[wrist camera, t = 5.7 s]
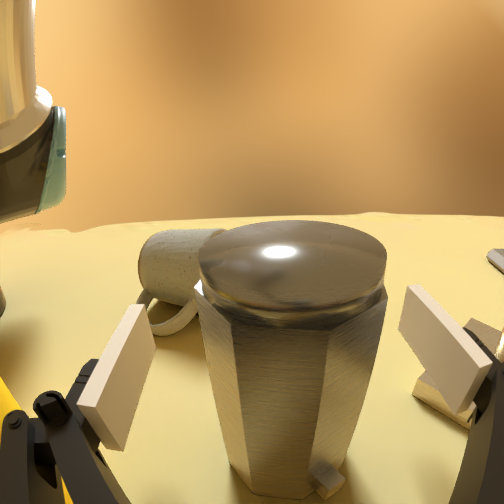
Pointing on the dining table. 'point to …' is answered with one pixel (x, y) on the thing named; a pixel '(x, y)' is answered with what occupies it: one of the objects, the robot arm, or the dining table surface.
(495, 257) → the decorative plate
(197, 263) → the ceramic mug
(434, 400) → the square metal stand
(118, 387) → the robot arm
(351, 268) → the trash can
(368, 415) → the dining table surface
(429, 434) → the dining table surface
